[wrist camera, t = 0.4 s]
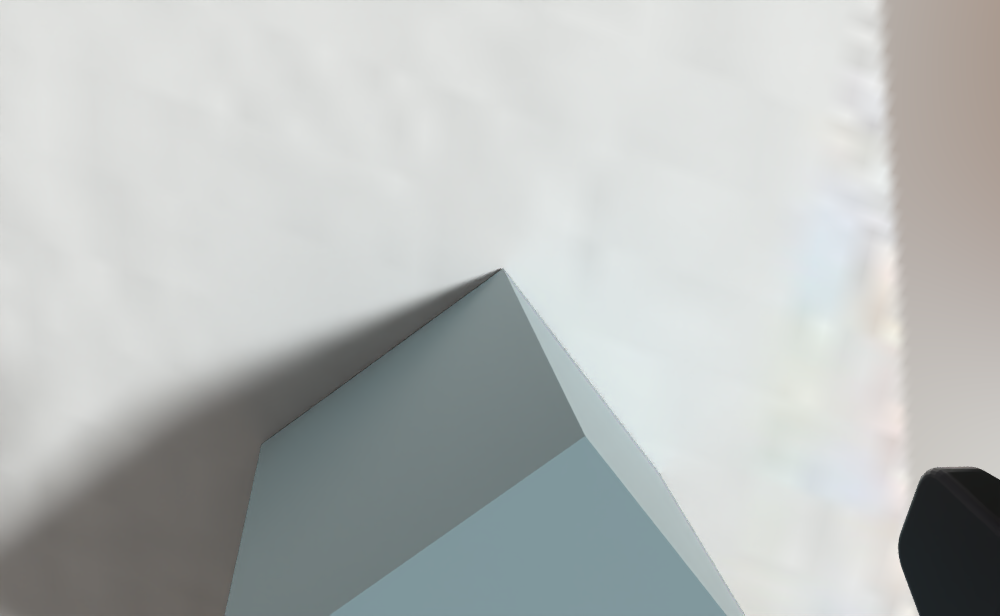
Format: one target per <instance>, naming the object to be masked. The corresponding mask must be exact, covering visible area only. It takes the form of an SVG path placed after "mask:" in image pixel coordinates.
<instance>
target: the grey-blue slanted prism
mask: <svg viewBox="0 0 1000 616" xmlns="http://www.w3.org/2000/svg"><path fill="white" fill-rule="evenodd" d="M225 616H745V614H744V613H743V611H742V609H741V608H740V606H739V604H738V603H737V601H736V599H735V598H734V596H733V594H732V593H731V591H730V590H729V588H728V586H727V585H726V583H725V581H724V580H723V578H722V576H721V575H720V573H719V571H718V570H717V568H716V566H715V565H714V563H713V561H712V560H711V558H710V556H709V555H708V553H707V551H706V550H705V548H704V546H703V545H702V543H701V541H700V540H699V538H698V536H697V535H696V533H695V531H694V530H693V528H692V526H691V525H690V523H689V522H688V520H687V518H686V517H685V515H684V513H683V512H682V510H681V508H680V507H679V505H678V503H677V502H676V500H675V498H674V497H673V495H672V493H671V492H670V490H669V488H668V487H667V485H666V483H665V482H664V480H663V478H662V477H661V475H660V474H659V472H658V471H657V470H656V468H655V467H654V466H653V464H652V463H651V462H650V461H649V459H648V458H647V457H646V455H645V454H644V453H643V451H642V450H641V449H640V447H639V446H638V445H637V443H636V442H635V441H634V440H633V438H632V437H631V436H630V434H629V433H628V432H627V430H626V429H625V428H624V426H623V425H622V424H621V422H620V421H619V420H618V418H617V417H616V416H615V415H614V413H613V412H612V411H611V409H610V408H609V407H608V405H607V404H606V403H605V401H604V400H603V399H602V397H601V396H600V395H599V394H598V392H597V391H596V390H595V388H594V387H593V386H592V384H591V383H590V382H589V380H588V379H587V378H586V376H585V375H584V374H583V373H582V371H581V370H580V369H579V367H578V366H577V365H576V363H575V362H574V361H573V359H572V358H571V357H570V355H569V354H568V353H567V351H566V350H565V349H564V348H563V346H562V345H561V344H560V342H559V341H558V340H557V338H556V337H555V336H554V334H553V333H552V332H551V330H550V329H549V328H548V327H547V325H546V324H545V323H544V321H543V320H542V319H541V317H540V316H539V315H538V313H537V312H536V311H535V309H534V308H533V307H532V306H531V304H530V303H529V302H528V300H527V299H526V298H525V296H524V295H523V294H522V292H521V291H520V290H519V288H518V287H517V286H516V284H515V283H514V282H513V281H512V279H511V278H510V277H509V275H508V274H507V273H506V271H505V270H504V269H501V270H500V271H498V272H497V273H496V274H494V275H493V276H492V277H490V278H489V279H488V280H486V281H485V282H483V283H482V284H481V285H479V286H478V287H477V288H475V289H474V290H472V291H471V292H470V293H468V294H467V295H466V296H464V297H463V298H461V299H460V300H459V301H457V302H456V303H455V304H453V305H452V306H451V307H449V308H448V309H446V310H445V311H444V312H442V313H441V314H440V315H438V316H437V317H435V318H434V319H433V320H431V321H430V322H429V323H427V324H426V325H424V326H423V327H422V328H420V329H419V330H418V331H416V332H415V333H413V334H412V335H411V336H409V337H408V338H407V339H405V340H404V341H403V342H401V343H400V344H398V345H397V346H396V347H394V348H393V349H392V350H390V351H389V352H387V353H386V354H385V355H383V356H382V357H381V358H379V359H378V360H376V361H375V362H374V363H372V364H371V365H370V366H368V367H367V368H366V369H364V370H363V371H361V372H360V373H359V374H357V375H356V376H355V377H353V378H352V379H350V380H349V381H348V382H346V383H345V384H344V385H342V386H341V387H339V388H338V389H337V390H335V391H334V392H333V393H331V394H330V395H329V396H327V397H326V398H324V399H323V400H322V401H320V402H319V403H318V404H316V405H315V406H313V407H312V408H311V409H309V410H308V411H307V412H305V413H304V414H302V415H301V416H300V417H298V418H297V419H296V420H294V421H293V422H291V423H290V424H289V425H287V426H286V427H285V428H283V429H282V430H281V431H279V432H278V433H276V434H275V435H274V436H272V437H271V438H270V439H268V440H267V441H265V442H264V443H263V444H262V445H261V449H260V454H259V458H258V463H257V468H256V472H255V477H254V482H253V486H252V491H251V495H250V500H249V505H248V509H247V514H246V519H245V523H244V528H243V532H242V537H241V542H240V546H239V551H238V556H237V560H236V565H235V570H234V574H233V579H232V583H231V588H230V593H229V597H228V602H227V607H226V611H225Z"/></svg>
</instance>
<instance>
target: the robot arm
mask: <svg viewBox="0 0 1000 616" xmlns="http://www.w3.org/2000/svg"><path fill="white" fill-rule="evenodd" d="M898 551H899V559H900V563H901V567H902V570H903V573H904V575H905V578H906V581H907V583H908V586H909V589H910V591H911V594H912V597H913V599H914V602H915V605H916V607H917V610H918V613H919V616H1000V480H999V479H998V478H996V477H994V476H992V475H991V474H989V473H987V472H985V471H983V470H981V469H979V468H975V467H937V468H933V469H930V470H928V471H927V472H926V473H925V474H924V475H923V476H922V477H921V479H920V481H919V484H918V486H917V489H916V492H915V494H914V497H913V500H912V503H911V505H910V508H909V511H908V514H907V516H906V519H905V522H904V525H903V528H902V530H901V533H900V537H899V544H898Z"/></svg>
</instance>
